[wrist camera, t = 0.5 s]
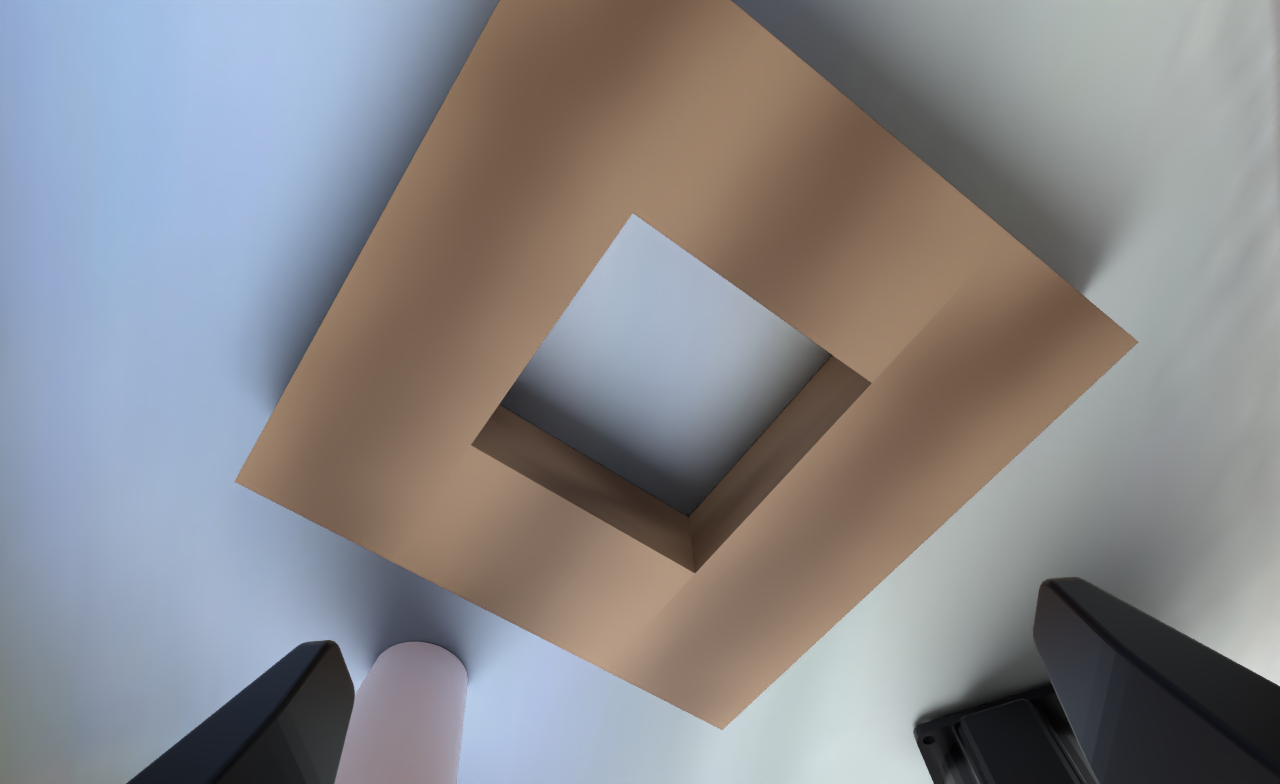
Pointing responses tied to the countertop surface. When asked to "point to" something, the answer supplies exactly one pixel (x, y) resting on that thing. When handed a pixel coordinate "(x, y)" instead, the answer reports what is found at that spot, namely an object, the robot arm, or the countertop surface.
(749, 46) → the hole board
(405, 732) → the smoothie
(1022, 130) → the countertop surface
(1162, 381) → the countertop surface
